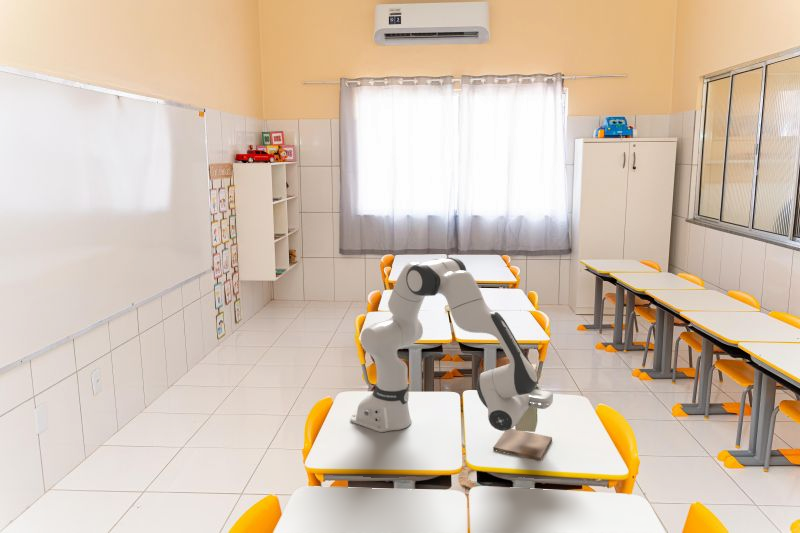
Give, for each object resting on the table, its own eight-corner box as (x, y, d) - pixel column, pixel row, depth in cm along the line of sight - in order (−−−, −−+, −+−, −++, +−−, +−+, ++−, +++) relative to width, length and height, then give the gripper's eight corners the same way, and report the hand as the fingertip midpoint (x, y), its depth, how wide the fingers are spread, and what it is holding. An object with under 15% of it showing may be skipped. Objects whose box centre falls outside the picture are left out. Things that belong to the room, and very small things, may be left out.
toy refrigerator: (537, 432, 208) (536, 371, 205) (515, 430, 211) (513, 370, 207) (540, 422, 216) (538, 363, 212) (518, 421, 218) (516, 362, 215)
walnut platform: (493, 450, 212) (493, 447, 211) (507, 430, 226) (507, 427, 226) (540, 461, 205) (540, 457, 205) (551, 440, 219) (552, 437, 219)
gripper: (548, 398, 195) (558, 383, 207) (485, 386, 203) (498, 373, 216) (547, 417, 196) (557, 401, 208) (484, 405, 205) (497, 390, 217)
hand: (526, 386), depth 212 cm, fingers closed on toy refrigerator, 7 cm apart
